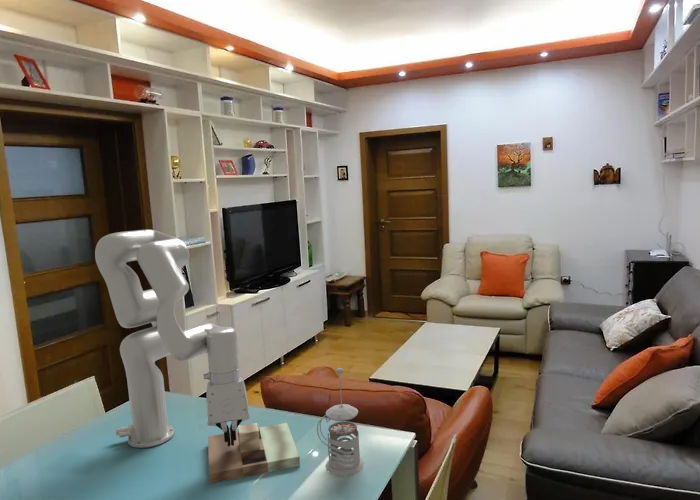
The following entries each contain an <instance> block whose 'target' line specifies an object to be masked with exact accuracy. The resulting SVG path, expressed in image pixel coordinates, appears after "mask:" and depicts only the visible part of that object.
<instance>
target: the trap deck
mask: <svg viewBox="0 0 700 500" xmlns="http://www.w3.org/2000/svg"><path fill="white" fill-rule="evenodd" d="M258 429H259V440H260V449H258V450H253V451H247V452H240V445H239V433H238V430H236V440H235V441H234V445H233V446H232V445H230V446H228V442H225V439H224V433H221V434H215V435H210V436H208V437H207V441H208V443H207V447H208V448H207V449H208V450H207V451H208V481H209V485H211V484H216V483H220V482H225V481H231V480H234V479H241V478H245V477H246V478H247V477H251V476H256V475H261V474H265V473H271V472H275V471H280V470H286V469H291V468H296V467H300V466H301V460H300V457H301V456H300V455H299V451H298V448H297V446H296V443H295V440H294V438H293V435H292V433H291V429H290V428H289V424H288V422H284V423H278V424H273V425H267V426H260V427H258ZM230 443H231V436H230Z"/></svg>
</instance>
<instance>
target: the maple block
mask: <svg viewBox="0 0 700 500" xmlns="http://www.w3.org/2000/svg"><path fill="white" fill-rule="evenodd" d="M258 428H259V426H258V422H253V423H247V424H242V425H240V424H239V425H238V427H237V431H238V433H239V445H240V452H247V451H253V450H258V449H260V440H259V429H258Z"/></svg>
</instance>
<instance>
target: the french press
mask: <svg viewBox="0 0 700 500" xmlns="http://www.w3.org/2000/svg"><path fill="white" fill-rule="evenodd" d="M343 373H344V369H343V368H341V367H338V368H336V370H335V374H336V375H339V388H340V389H339V391H340V395H342V385H341V384H342V383H341V382H342V381H341V375H342V374H343ZM343 375H344V374H343ZM358 413H359V410H358V409H357V408H356V407H354V406H352V405H350V404H347V403H343V401H342V396H340V404H336V405H333V406H331V407H330V408H328V409H326V411H325V414H324V416H322V417H321V418H320V420H318V423H317V424H316V425H317V426H316V434H317V436H318V438H319V441H321V442H322V443H323V444H324V445H326V446H327V454H328V460H327V461H326V463H325V465H324V466H325V469H326V471H327V472H329V473H330V474H332V475H336V476H350V475H353V474H356V473H359V472H361V470H363V468H364V467H365V462H364V459H363V458H361V456H360V453H361V452H360V438H359V431H358V426H357V425H356V423H353V422H351V421H349V420H352V419H355V417H357V416H358ZM324 419H325V420H326V423H329V421H330V420H332V421H336V422H333V423H332V424H330V425H329V427H328V431H329V433H327V438H326V437H325V436H324V434H323V431H322V427H321V425H322V421H323V420H324ZM319 431H320V434H321V437H322V438H323V439H324V440H326V441H327V443H326V442H324V440H322V438H321V437H320V434H319ZM340 437H342V438H340Z"/></svg>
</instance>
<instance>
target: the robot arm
mask: <svg viewBox="0 0 700 500" xmlns="http://www.w3.org/2000/svg"><path fill="white" fill-rule="evenodd" d="M94 259H95V263H96V265H97V268H98V271H99V272H100V274H101V277H102V278H103V279H104V281H105V284H106V287H107V290H108V293H109V298H110V301H111V304H112V308H113V310H114V311H113V312H114V314H115V317H116V320H117V322H118V324H119V325H120V327H122V328H125V329H131V328H137V327H141V326H144V325H147V324H150V323H151V325H152V326H150V327H148V328H144V329H141V330H138V331H136V332H132V333H130V334H129V335H127V336H125V337H124V338H123V339H122V340H121V342H120V345H119V353H120V357H121V359H122V364H123V366H124V371H125V377H126V381H127V389H128V390H127V391H128V400H129V408H130V409H129V410H130V417H131V419H130V420H131V424H129V425H128V426H126V427H125V426H124V427H117V428H115V434H116V436H119V438H124V437H125V438H126V437H127V444H128V445H129V446H131V447H133V448H139V449H140V448H141V449H143V448H150V447H155V446H158V445H161V444H163V443H165V442H167V441H169V440H170V439H171V438H172V437H173V436H174V434H175V428H174V427H173V426H172V425H170V424H169V423H168V422H169V421H168V415H167V413H168V412H167V411H168V410H167V402H166V393H165V381H164V380H165V379H164V375H163V373H162V371H161V369H160V368H159V367H158V366H157V365H156V362H157V361H158V360H160V359H163V358H165V357H168V356H172V358H173V359H175V360H177V361H180V362H184V361H185V362H186V361H189V360H191V359H194V358H196V357H199V356H201V355H203V354H206V353H207V362H208V371H207V372H206V373H203V380H208V382H207V385H206V414H207V421H206V422H207V426H209V427H217V428H219V429H220V430H222V432H223V434H224V439H225V442H228V446H230V445H232V446H233V445H234V441H235V440H236V432H237V430H238V426H240V424H241V423H242V422H245V421H247V420H250V417H251V416H250V413H249V403H248V402H249V401H248V397H247V395H248V394H247V389H246V384H245V381H244V378H243V377H242V376H241V374H240V373H241V372H240V362H239V351H238V350H239V349H238V338H237V331H236V330H235V328H234V327H232V326H220V325H217V324H215V323H212V322H203V323H201V324H198V325H194V326H191V327H189V328H186V329H182V328H181V326H180V323H179V322H178V320H177V317H176V306H177V304H178V302H179V301H180V300H181V299H182V298H183V297H185V296H186V294H187V293H188V292H189V290H190V285H189V282H188V281H187V280H186V278H185V276H184V274H183V273H182V271H181V268H182V267H185V266H186V265H187V264H188V263H189V261H190V251H189V248H188V245H186V244H185V242H184V241H182V240H181V239H179V237H178V238H177V237H176V236H173V235H169V234H167V233H163V232H161V231H158V230H155V229H138V230H128V231H127V230H126V231H120V232H119V231H117V232H113V233H108V234H107V235H104V236H102V237H101V238H100V239H99V240H98V242H97V244H96V246H95V250H94ZM134 261H137V263H138V265H139V266H140V269H141V270H142V272H143V274H144V276H145V277H146V279H147V281H148V284H149V285H150V286H151V289H150V288H149V289H146V290H143V287H142V285H141V284H142V283H141V281H140V278H139V276H138V274H137V273H136V272H135V271H134V269H132V267H131V266H129V265H128V264H127V263H129V262H134ZM227 422H231V424H230V426H229V425H227ZM230 436H231V443H230Z"/></svg>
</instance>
